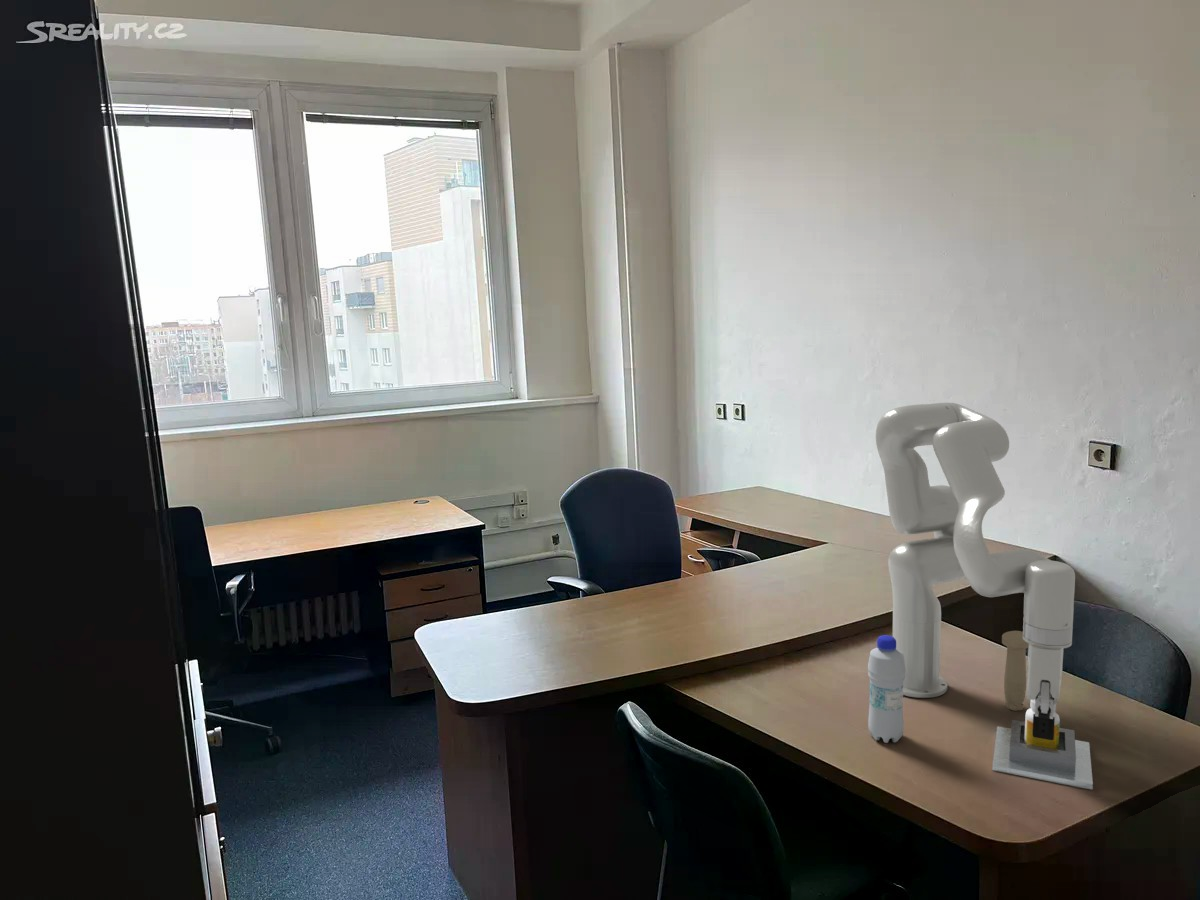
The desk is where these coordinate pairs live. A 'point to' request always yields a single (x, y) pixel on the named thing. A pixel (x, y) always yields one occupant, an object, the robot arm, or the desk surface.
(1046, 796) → the desk surface
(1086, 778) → the socket
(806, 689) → the desk surface
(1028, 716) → the supplement bottle
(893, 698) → the bottle
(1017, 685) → the handle
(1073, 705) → the desk surface
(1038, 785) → the desk surface
